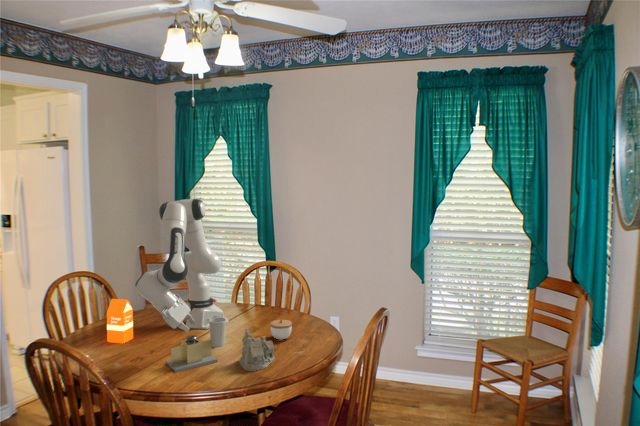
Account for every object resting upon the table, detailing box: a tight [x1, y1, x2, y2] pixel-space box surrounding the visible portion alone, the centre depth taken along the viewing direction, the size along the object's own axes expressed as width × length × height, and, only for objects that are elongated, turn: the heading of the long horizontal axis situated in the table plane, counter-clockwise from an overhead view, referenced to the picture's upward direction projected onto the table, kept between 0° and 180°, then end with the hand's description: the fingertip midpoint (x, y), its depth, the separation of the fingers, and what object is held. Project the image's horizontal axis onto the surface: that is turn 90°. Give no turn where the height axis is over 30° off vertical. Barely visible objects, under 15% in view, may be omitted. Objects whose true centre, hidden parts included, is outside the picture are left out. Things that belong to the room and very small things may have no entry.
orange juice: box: [106, 298, 134, 344], centre depth 219 cm, size 8×9×20 cm
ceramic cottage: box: [238, 327, 276, 372], centre depth 195 cm, size 16×16×15 cm
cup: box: [209, 317, 227, 348], centre depth 215 cm, size 8×8×12 cm
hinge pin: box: [186, 335, 198, 344], centre depth 193 cm, size 4×4×10 cm
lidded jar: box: [269, 319, 293, 340], centre depth 225 cm, size 11×11×9 cm
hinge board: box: [165, 355, 218, 373], centre depth 194 cm, size 18×11×1 cm, turn 128°
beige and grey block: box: [170, 338, 213, 365], centre depth 193 cm, size 18×7×8 cm, turn 128°
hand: (191, 326), depth 193 cm, fingers open, 8 cm apart
